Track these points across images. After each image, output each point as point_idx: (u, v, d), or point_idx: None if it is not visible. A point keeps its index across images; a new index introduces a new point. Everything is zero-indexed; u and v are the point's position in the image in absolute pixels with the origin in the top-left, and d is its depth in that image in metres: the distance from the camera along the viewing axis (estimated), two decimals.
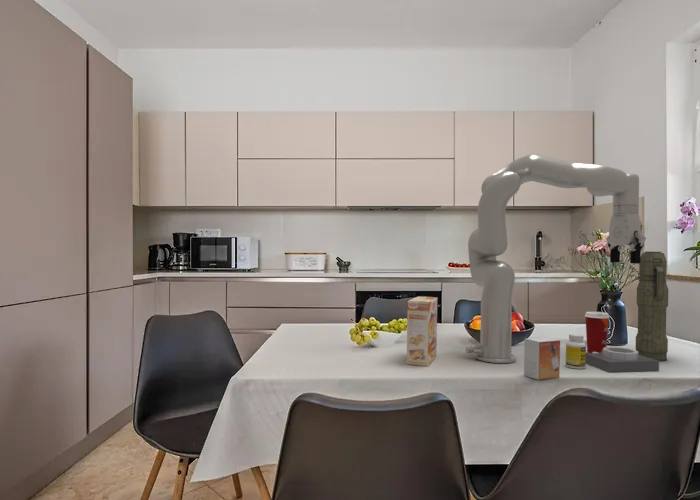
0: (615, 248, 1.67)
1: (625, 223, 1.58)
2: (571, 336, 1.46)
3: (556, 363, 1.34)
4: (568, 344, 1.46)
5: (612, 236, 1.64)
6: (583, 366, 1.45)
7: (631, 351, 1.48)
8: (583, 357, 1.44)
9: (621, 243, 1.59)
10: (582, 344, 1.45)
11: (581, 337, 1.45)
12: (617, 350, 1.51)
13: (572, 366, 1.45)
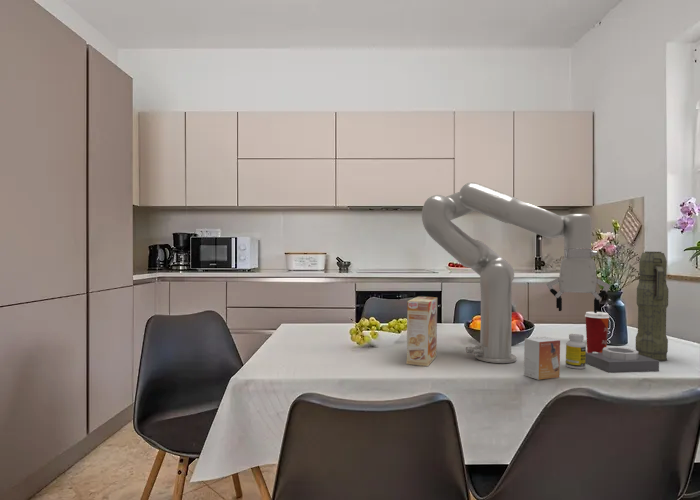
0: None
1: None
2: (571, 336, 1.46)
3: (556, 363, 1.34)
4: (568, 344, 1.46)
5: None
6: (583, 366, 1.45)
7: (631, 351, 1.48)
8: (583, 357, 1.44)
9: None
10: (582, 344, 1.45)
11: (581, 337, 1.45)
12: (617, 350, 1.51)
13: (572, 366, 1.45)
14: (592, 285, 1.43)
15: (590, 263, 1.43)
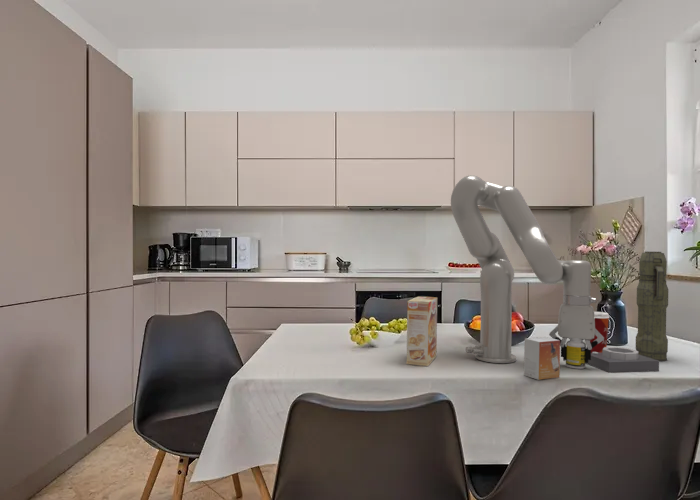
0: None
1: None
2: None
3: (556, 364, 1.34)
4: (568, 344, 1.46)
5: None
6: (583, 366, 1.45)
7: (631, 351, 1.48)
8: (583, 357, 1.44)
9: None
10: (582, 344, 1.45)
11: None
12: (617, 350, 1.51)
13: (572, 366, 1.45)
14: (590, 332, 1.43)
15: (589, 310, 1.43)
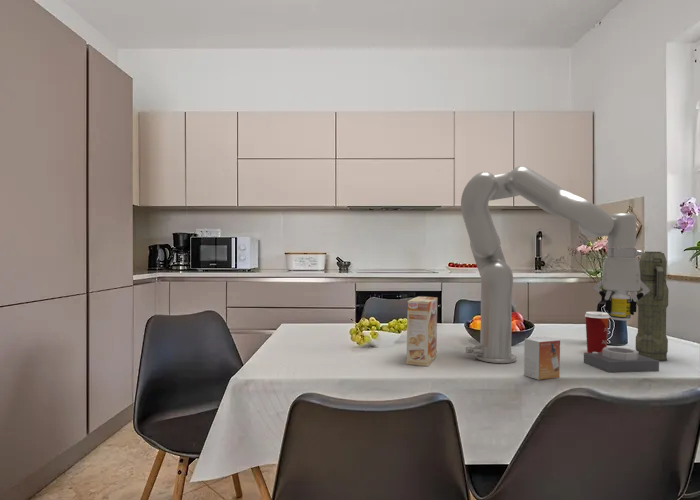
0: (633, 298, 1.46)
1: None
2: None
3: (556, 363, 1.34)
4: (613, 296, 1.47)
5: None
6: (629, 318, 1.45)
7: (631, 351, 1.48)
8: (629, 309, 1.45)
9: None
10: (628, 296, 1.45)
11: None
12: (617, 350, 1.51)
13: (617, 318, 1.46)
14: (636, 284, 1.44)
15: (634, 262, 1.44)
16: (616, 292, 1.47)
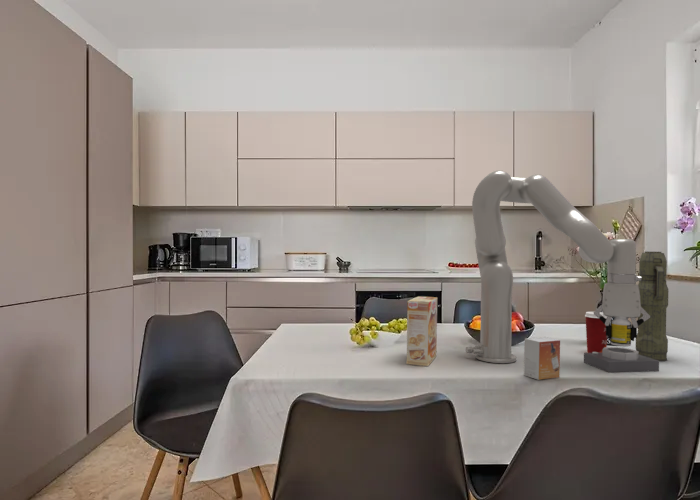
0: None
1: None
2: None
3: (556, 364, 1.34)
4: (613, 322, 1.47)
5: None
6: (629, 344, 1.45)
7: (631, 351, 1.48)
8: (629, 335, 1.45)
9: None
10: (628, 322, 1.45)
11: None
12: (617, 350, 1.51)
13: (618, 344, 1.46)
14: (637, 310, 1.44)
15: (634, 288, 1.44)
16: (616, 318, 1.47)
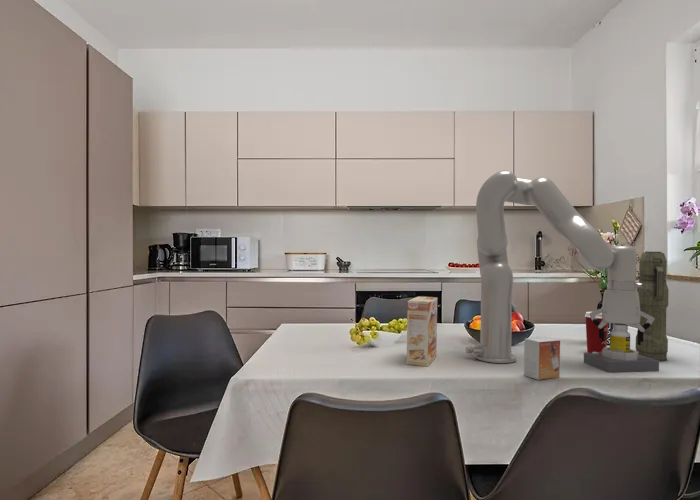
0: None
1: None
2: (615, 326, 1.47)
3: (556, 363, 1.34)
4: (612, 334, 1.47)
5: None
6: None
7: (631, 351, 1.48)
8: (628, 347, 1.45)
9: None
10: (627, 334, 1.45)
11: (626, 327, 1.46)
12: None
13: None
14: (636, 317, 1.44)
15: (634, 295, 1.44)
16: (615, 329, 1.47)
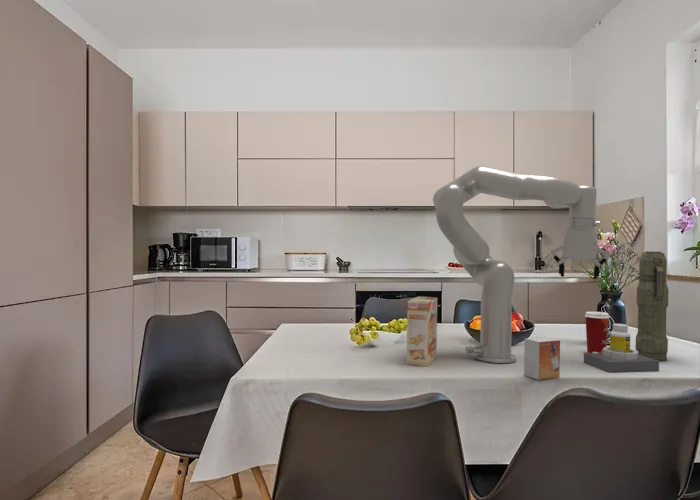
0: (596, 264, 1.54)
1: None
2: (615, 326, 1.47)
3: (556, 363, 1.34)
4: (612, 334, 1.47)
5: None
6: None
7: (631, 351, 1.48)
8: (628, 347, 1.45)
9: None
10: (627, 334, 1.45)
11: (626, 327, 1.46)
12: None
13: None
14: (593, 253, 1.52)
15: (592, 232, 1.53)
16: (615, 329, 1.47)
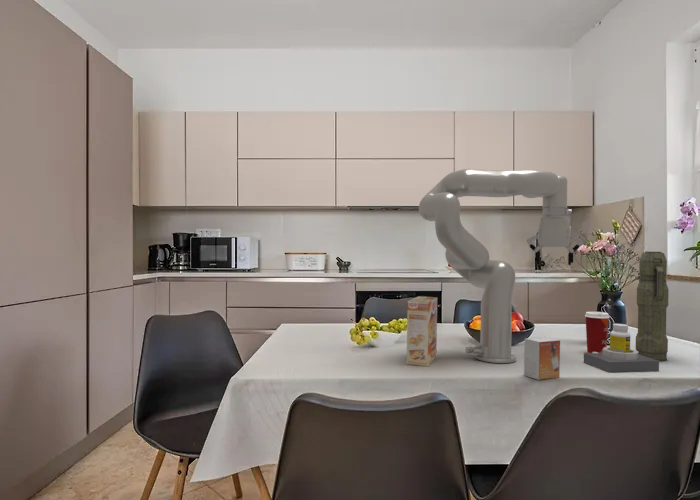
0: None
1: None
2: (616, 326, 1.47)
3: (556, 364, 1.34)
4: (612, 334, 1.47)
5: None
6: None
7: (631, 351, 1.48)
8: (628, 347, 1.45)
9: None
10: (627, 334, 1.45)
11: (626, 327, 1.46)
12: None
13: None
14: (567, 240, 1.59)
15: (565, 220, 1.59)
16: (615, 329, 1.47)
